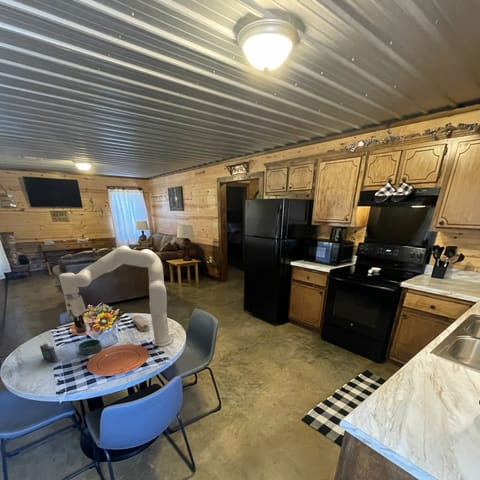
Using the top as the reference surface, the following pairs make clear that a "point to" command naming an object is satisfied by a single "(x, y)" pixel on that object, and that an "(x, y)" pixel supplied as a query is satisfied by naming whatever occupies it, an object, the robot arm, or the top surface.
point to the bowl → (89, 347)
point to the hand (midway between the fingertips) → (80, 325)
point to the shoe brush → (141, 323)
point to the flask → (48, 353)
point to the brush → (80, 329)
